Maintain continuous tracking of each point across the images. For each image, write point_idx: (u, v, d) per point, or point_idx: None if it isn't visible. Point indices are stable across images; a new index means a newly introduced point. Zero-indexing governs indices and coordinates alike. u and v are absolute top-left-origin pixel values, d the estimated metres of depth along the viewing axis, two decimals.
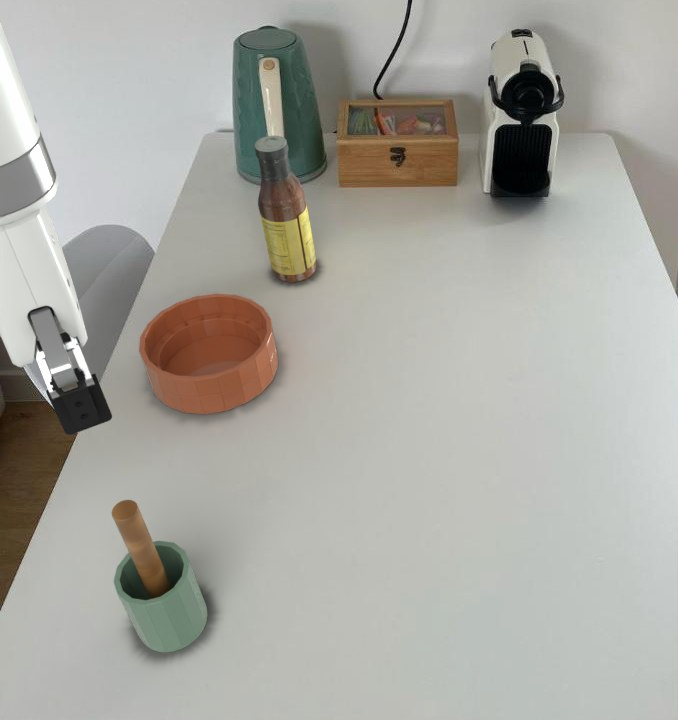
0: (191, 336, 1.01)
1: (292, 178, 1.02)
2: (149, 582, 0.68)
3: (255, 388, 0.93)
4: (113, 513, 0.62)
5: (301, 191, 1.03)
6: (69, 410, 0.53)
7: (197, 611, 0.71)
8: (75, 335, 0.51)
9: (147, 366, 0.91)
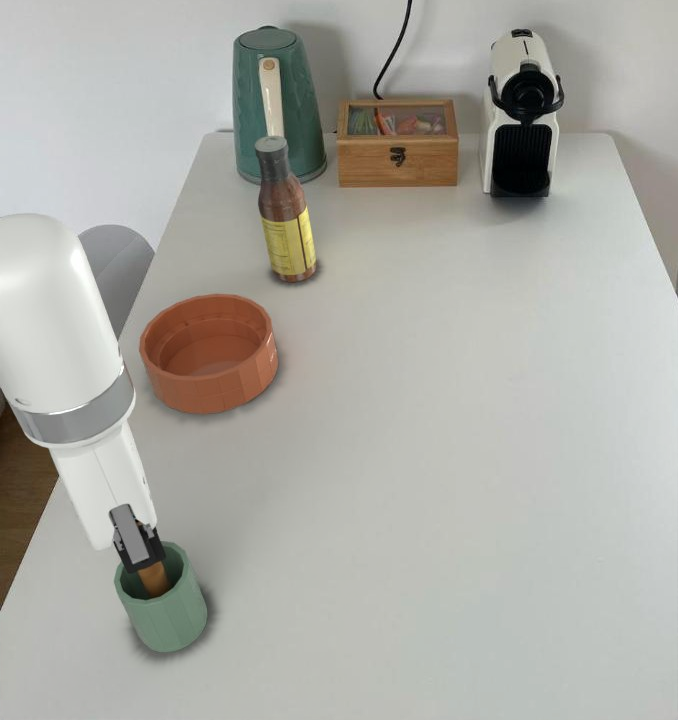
0: (191, 336, 1.01)
1: (292, 178, 1.02)
2: (149, 582, 0.68)
3: (255, 388, 0.93)
4: None
5: (301, 191, 1.03)
6: None
7: (197, 611, 0.71)
8: None
9: (147, 366, 0.91)
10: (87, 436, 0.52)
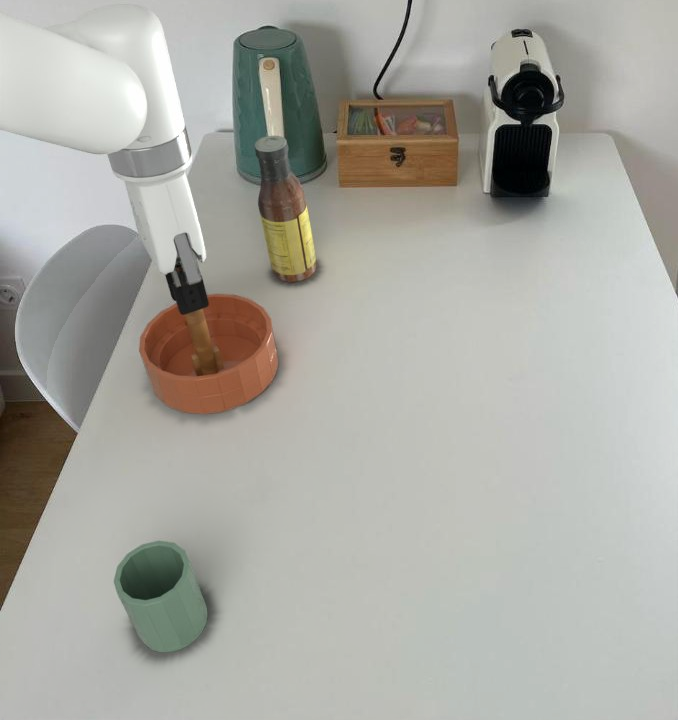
0: None
1: (292, 178, 1.02)
2: (195, 329, 0.90)
3: (255, 388, 0.93)
4: None
5: (301, 191, 1.03)
6: (185, 296, 0.85)
7: (197, 611, 0.71)
8: None
9: (147, 366, 0.91)
10: (161, 173, 0.74)
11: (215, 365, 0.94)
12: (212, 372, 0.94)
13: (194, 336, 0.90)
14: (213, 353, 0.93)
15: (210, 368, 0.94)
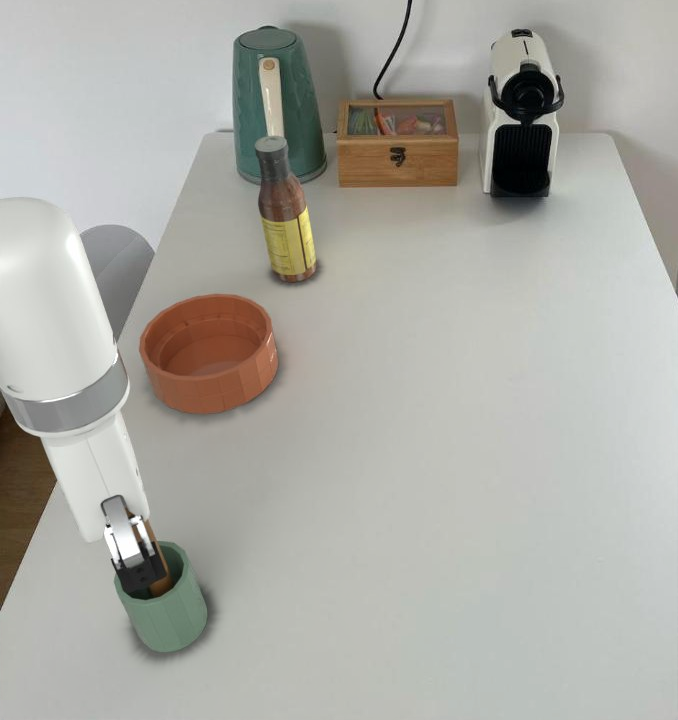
0: (191, 336, 1.01)
1: (292, 178, 1.02)
2: None
3: (255, 388, 0.93)
4: None
5: (301, 191, 1.03)
6: (131, 576, 0.59)
7: (197, 611, 0.71)
8: (140, 514, 0.57)
9: (147, 366, 0.91)
10: (80, 425, 0.51)
11: None
12: None
13: (152, 587, 0.69)
14: None
15: None
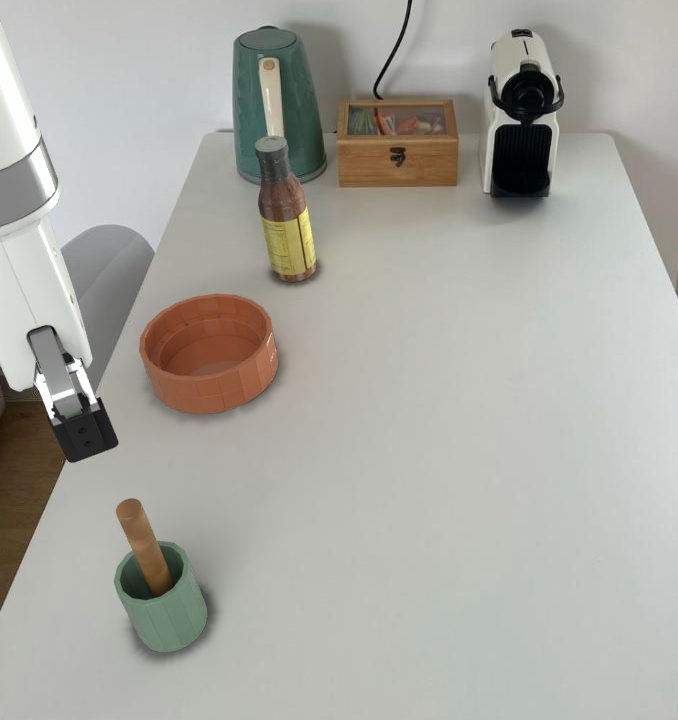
0: (191, 336, 1.01)
1: (292, 178, 1.02)
2: (153, 581, 0.68)
3: (255, 388, 0.93)
4: (117, 512, 0.63)
5: (301, 191, 1.03)
6: (72, 437, 0.49)
7: (197, 611, 0.71)
8: (79, 356, 0.47)
9: (147, 366, 0.91)
10: None
11: None
12: None
13: (152, 587, 0.69)
14: None
15: None
